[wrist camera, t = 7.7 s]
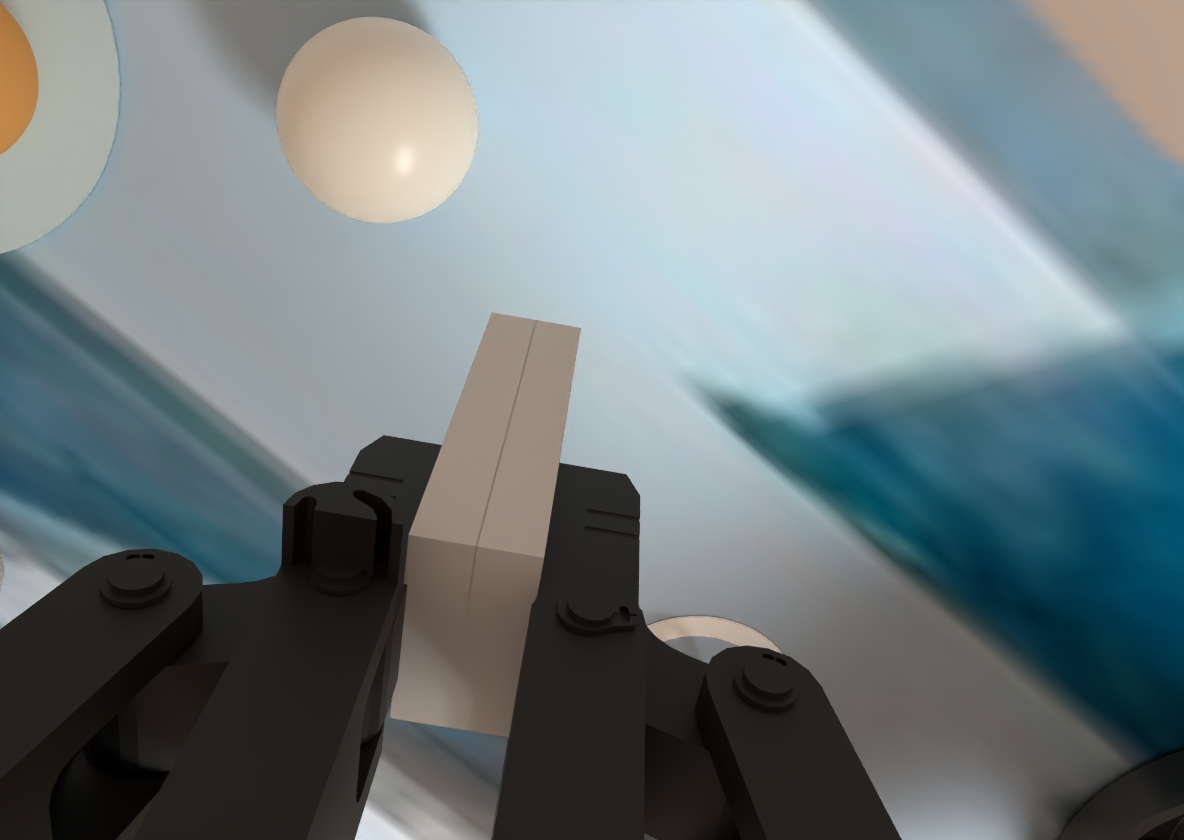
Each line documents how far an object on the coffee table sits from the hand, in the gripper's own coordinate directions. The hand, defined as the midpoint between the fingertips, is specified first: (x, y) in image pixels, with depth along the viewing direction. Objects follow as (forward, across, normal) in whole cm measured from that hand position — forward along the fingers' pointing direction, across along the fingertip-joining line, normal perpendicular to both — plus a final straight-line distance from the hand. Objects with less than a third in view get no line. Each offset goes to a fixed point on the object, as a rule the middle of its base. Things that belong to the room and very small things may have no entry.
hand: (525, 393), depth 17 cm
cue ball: (+13, +6, -1) cm, 14 cm away
